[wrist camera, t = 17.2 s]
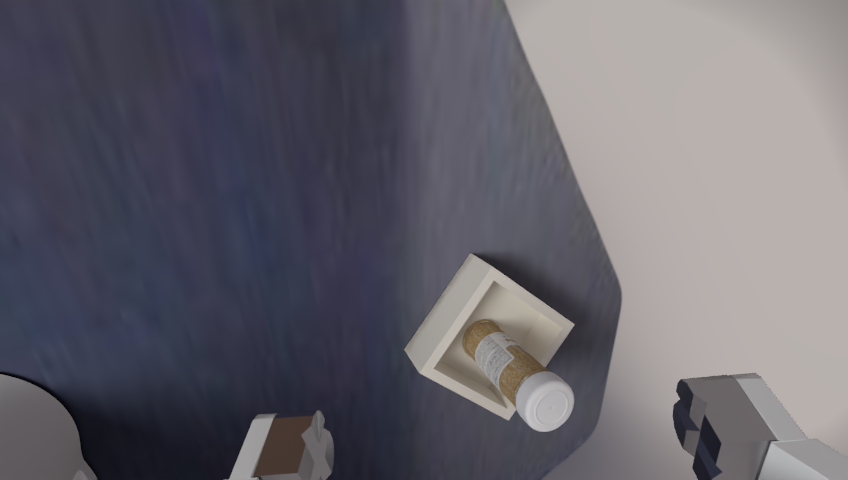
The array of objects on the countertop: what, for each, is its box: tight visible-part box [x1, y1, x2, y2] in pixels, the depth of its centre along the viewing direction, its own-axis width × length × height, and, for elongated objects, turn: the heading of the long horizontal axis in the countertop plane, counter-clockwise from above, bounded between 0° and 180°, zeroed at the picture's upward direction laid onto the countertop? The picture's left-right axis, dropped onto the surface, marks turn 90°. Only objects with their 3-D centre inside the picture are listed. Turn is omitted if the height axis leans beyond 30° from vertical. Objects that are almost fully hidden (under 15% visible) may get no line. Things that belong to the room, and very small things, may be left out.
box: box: [404, 253, 575, 421], centre depth 49 cm, size 12×12×5 cm
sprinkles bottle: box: [462, 320, 574, 432], centre depth 44 cm, size 5×5×14 cm
